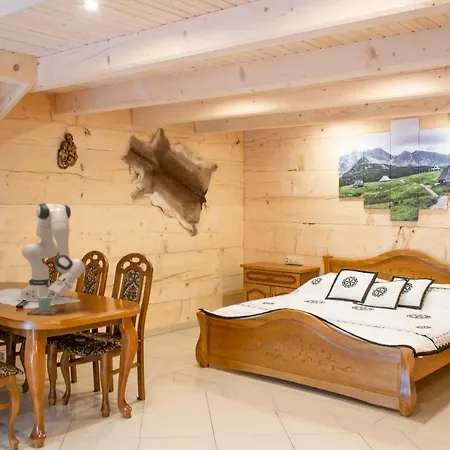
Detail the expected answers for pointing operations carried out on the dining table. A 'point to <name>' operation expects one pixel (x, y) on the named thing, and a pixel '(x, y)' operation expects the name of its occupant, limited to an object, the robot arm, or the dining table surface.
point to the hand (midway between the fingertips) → (49, 298)
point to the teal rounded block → (44, 303)
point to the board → (50, 313)
